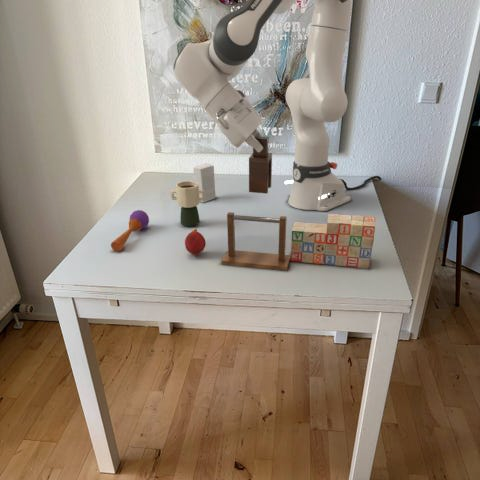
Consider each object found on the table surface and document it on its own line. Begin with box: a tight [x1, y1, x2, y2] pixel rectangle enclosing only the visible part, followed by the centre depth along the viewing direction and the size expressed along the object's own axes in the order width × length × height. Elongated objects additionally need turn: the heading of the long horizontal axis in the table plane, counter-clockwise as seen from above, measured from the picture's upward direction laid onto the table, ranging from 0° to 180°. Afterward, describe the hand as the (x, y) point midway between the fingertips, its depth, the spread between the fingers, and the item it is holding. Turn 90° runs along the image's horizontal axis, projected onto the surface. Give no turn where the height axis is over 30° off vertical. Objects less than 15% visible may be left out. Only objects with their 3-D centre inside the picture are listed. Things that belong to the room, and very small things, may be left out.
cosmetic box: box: [193, 162, 216, 204], centre depth 173 cm, size 6×4×12 cm
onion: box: [184, 228, 207, 256], centre depth 136 cm, size 6×6×8 cm
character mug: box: [170, 180, 205, 227], centre depth 154 cm, size 11×7×13 cm, turn 84°
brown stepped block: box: [248, 136, 273, 194], centre depth 128 cm, size 6×5×14 cm
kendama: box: [110, 209, 150, 253], centre depth 148 cm, size 6×6×20 cm
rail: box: [221, 211, 291, 272], centre depth 131 cm, size 18×7×14 cm, turn 76°
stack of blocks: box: [290, 213, 376, 270], centre depth 131 cm, size 21×6×12 cm, turn 77°
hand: (263, 148), depth 125 cm, fingers closed on brown stepped block, 2 cm apart
